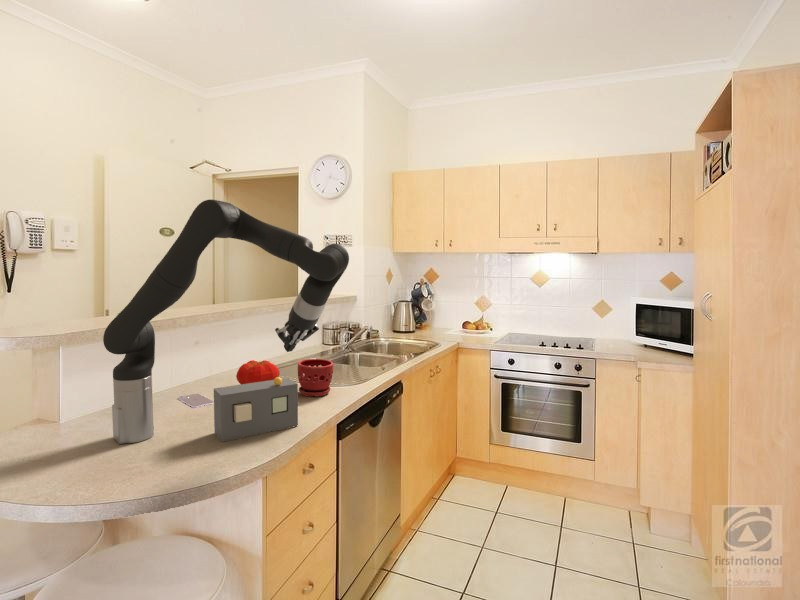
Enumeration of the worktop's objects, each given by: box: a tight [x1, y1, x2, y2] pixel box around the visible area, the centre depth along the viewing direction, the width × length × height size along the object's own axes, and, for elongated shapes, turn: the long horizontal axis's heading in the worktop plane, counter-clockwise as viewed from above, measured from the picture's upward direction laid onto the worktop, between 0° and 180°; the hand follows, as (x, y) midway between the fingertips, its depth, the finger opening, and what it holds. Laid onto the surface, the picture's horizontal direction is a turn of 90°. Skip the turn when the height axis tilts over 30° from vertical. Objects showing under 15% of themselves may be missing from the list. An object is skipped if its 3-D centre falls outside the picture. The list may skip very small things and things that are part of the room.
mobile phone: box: [177, 393, 214, 409], centre depth 161 cm, size 8×1×15 cm
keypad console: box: [213, 376, 299, 443], centre depth 134 cm, size 8×22×15 cm, turn 125°
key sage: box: [272, 396, 287, 413], centre depth 136 cm, size 4×4×4 cm
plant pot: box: [297, 358, 334, 397], centre depth 171 cm, size 13×13×12 cm
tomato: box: [235, 359, 281, 385], centre depth 179 cm, size 14×16×10 cm
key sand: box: [232, 402, 252, 422], centre depth 128 cm, size 4×4×4 cm
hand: (287, 349), depth 130 cm, fingers closed
